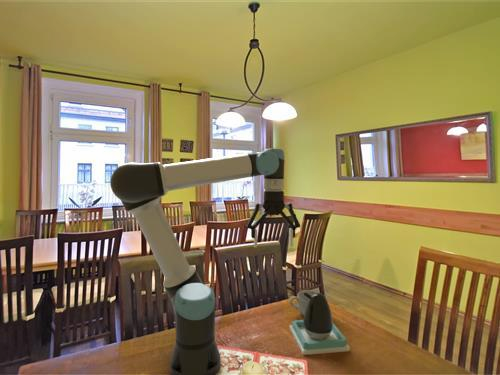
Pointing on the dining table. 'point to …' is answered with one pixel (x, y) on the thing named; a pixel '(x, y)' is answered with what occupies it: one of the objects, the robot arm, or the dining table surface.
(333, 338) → the dock
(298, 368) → the dining table surface
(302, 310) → the teacup
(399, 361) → the dining table surface
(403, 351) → the dining table surface
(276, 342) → the dining table surface
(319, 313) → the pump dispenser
